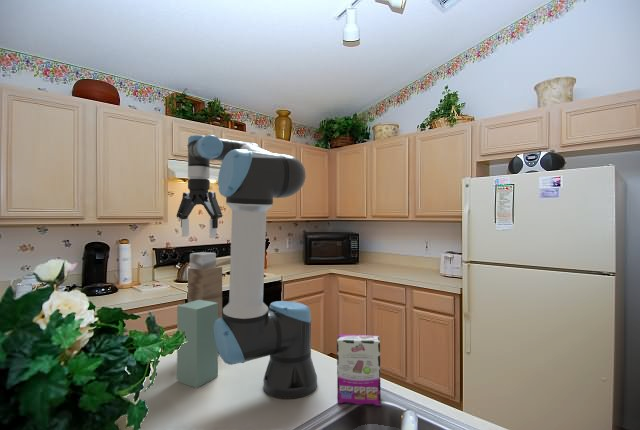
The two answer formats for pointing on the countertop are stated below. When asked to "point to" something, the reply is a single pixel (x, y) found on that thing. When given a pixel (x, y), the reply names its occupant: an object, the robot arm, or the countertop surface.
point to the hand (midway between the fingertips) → (198, 237)
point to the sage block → (197, 343)
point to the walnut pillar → (206, 286)
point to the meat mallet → (207, 260)
